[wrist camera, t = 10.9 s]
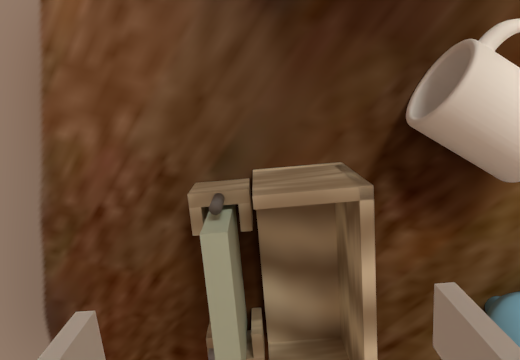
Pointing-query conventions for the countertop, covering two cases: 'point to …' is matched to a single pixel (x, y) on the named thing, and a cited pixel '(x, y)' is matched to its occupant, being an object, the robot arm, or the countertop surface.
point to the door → (224, 285)
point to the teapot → (506, 314)
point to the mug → (474, 103)
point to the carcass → (305, 259)
